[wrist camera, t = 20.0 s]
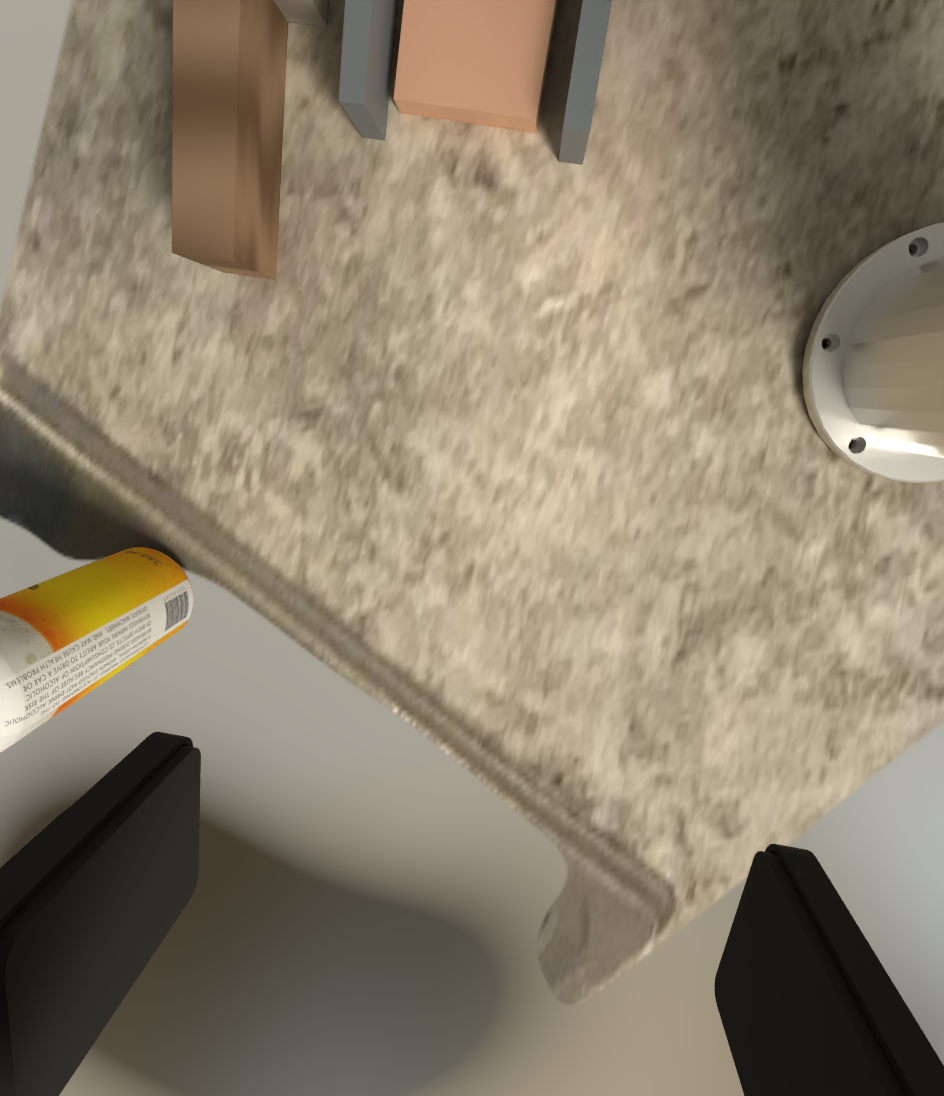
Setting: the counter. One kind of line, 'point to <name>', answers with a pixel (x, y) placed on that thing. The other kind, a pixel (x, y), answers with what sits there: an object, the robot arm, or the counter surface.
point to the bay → (372, 62)
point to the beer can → (83, 632)
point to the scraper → (231, 128)
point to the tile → (475, 60)
